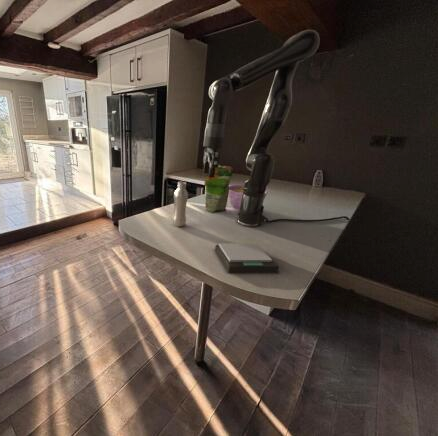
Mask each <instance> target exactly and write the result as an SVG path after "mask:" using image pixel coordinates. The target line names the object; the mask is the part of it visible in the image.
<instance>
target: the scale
mask: <svg viewBox="0 0 438 436" xmlns="http://www.w3.org/2000/svg"><path fill="white" fill-rule="evenodd" d="M214 247H215V248H214V251H215V253H216V255H217V257H218V258H219V260H220V261H221V262H222V264H223V266H224V268H225V270H226V272H227V273H229V274H247V273H249V274H253V273H254V274H255V273H256V274H259V273H260V274H262V273H263V274H266V273H267V274H273V273H274V274H275V273H276V274H278V272H279V268H280V266H279V264H278V263H276V262H275V261H274V259H273V258H272V257H271V256H270V255H268V253H267V252H266V251H264V249H263V248H262V247H261V246H260V245H259V244H258V243H218V244H215V246H214Z"/></svg>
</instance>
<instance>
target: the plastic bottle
mask: <svg viewBox="0 0 438 436" xmlns="http://www.w3.org/2000/svg"><path fill="white" fill-rule="evenodd" d="M176 187H177V188H176V190H174V192H173V212H172V213H173V214H172V217H171V223H172V225H173V226H174V227H183V226H185V225H186V222H187V215H186V209H187V203H188V198H189V193H188V191H187V189H186V188H187V182H185V181H178V182H177V186H176Z"/></svg>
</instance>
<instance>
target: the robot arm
mask: <svg viewBox="0 0 438 436" xmlns="http://www.w3.org/2000/svg"><path fill="white" fill-rule="evenodd" d="M320 39H321V38H320V34H319V33H318V32H317V31H316V30H313V29H305V30H302V31H299V32H298V33H296V34H294V35H292V36H291V37H289V38H288V39H287V40H286V41H285V42H284V44H283V45H282V46H281V47H280V48H278V49H276V50H275V51H272V52H271V53H267V54H266V55H264V56H262V57H259V58H257V59H255V60H253V61H251V62H249V63H247V64H245V65H243V66H242V67H240V68H238V69H236V70H235V71H233V72H232V73H230V74H227V75H225V76H223V77H221V78H219V79H217V80H215V81H214V82H213V83H212V84H211V85H210V86H209V89H208V96H209V98H210V99H211V100H212V104H211V107H210V108H209V110H208V113H207V120H206V126H205V130H204V138H203V145H202V146H203V148H204V151H203V160H202V162H203V172H202V173H203V174H208V173H209V177H214V175H215V168H216V167H218V165H219V164H220V163H219V162H220V156H221V152H220V151H218V149H221V148H223V144H224V143H223V142H224V137H225V129H226V119H227V112H228V110H229V107H230V104H231V100H232V98H233V93H235V92H237V91H241V90H243V89H246V88H247V87H249V86H251V85H254V84H255V83H257V82H259V81H260V80H263V79H264V78H266V77H268V76H270V75H271V74H273V73H274V72H275V75H274V79H273V81H272V84H271V88H270V91H269V95H268V97H267V100H266V103H265V106H264V109H263V112H262V115H261V118H260V122H259V125H258V127H257V131H256V134H255V137H254V140H253V142H252V143H251V144H252V145H251V147H250V149H249V151H248V153H247V156H246V159H245V166H246V168H247V170H248V171H250V175H249V179H247V180H245V181H244V184H243V185H244V189H243V195H242V200H241V205H240V211H238V213H237V214H238V215H237V220H236V221H237V223H238V224H239V225H242V226H244V227H251V228H252V227H254V228H255V227H258V226H261V223H275V222H280V221H281V222H283V221H284V222H302V223H303V222H304V223H305V222H306V223H307V222H308V223H309V222H310V223H312V222H315V223H316V222H328V221H333V220H334V221H335V220H340V219H346V220H350V218H349V217H348V216H346V215H342V216H337V217H336V216H335V217H329V218H322V219H293V218H275V219H272V220H269V219H268V217H266V216H265V215H263V214H264V209H265V206H264V205H263V203H264V201H265V199H264V196H265V191H267V187H268V186H269V184H270V182H271V179H272V175H273V172H274V169H275V167H274V166H275V157H274V155H273V154H272V153H270V152H268V151H269V149H270V146H271V143H272V140H273V139H274V137H275V136H276V135H277V133H278V132H279V131H280V130H281V128H282V127H283V126H284V124H285V122H286V121H287V119H288V115H289V113H290V110H291V107H292V104H293V79H294V76H295V74H296V71H297V68H298V66H299V64H300V63H301V62H304V61H307V60H308V59H310V58H312V57H313V56H314V54H316V52H317V50H318V49H319V46H320ZM209 164H210V165H209ZM209 166H210V170H209ZM263 200H264V201H263Z"/></svg>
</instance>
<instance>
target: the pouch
mask: <svg viewBox="0 0 438 436" xmlns="http://www.w3.org/2000/svg"><path fill="white" fill-rule="evenodd" d="M209 165H210V164H209ZM209 170H210V166H209ZM233 174H234V167H233V166H231V165H221V164H220V163H219V164H218V167H216V168H215V175H214V177H209V173H206V174H205V176H206V179H205V180H204V186H205V206H204V207H205V210H206V211H207V212H211V213H215V212H217V211H226V209H227V205H228V204H227V203H228V201H229V195H228V194H229V186H230V183H231V179H232V177H233Z"/></svg>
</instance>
